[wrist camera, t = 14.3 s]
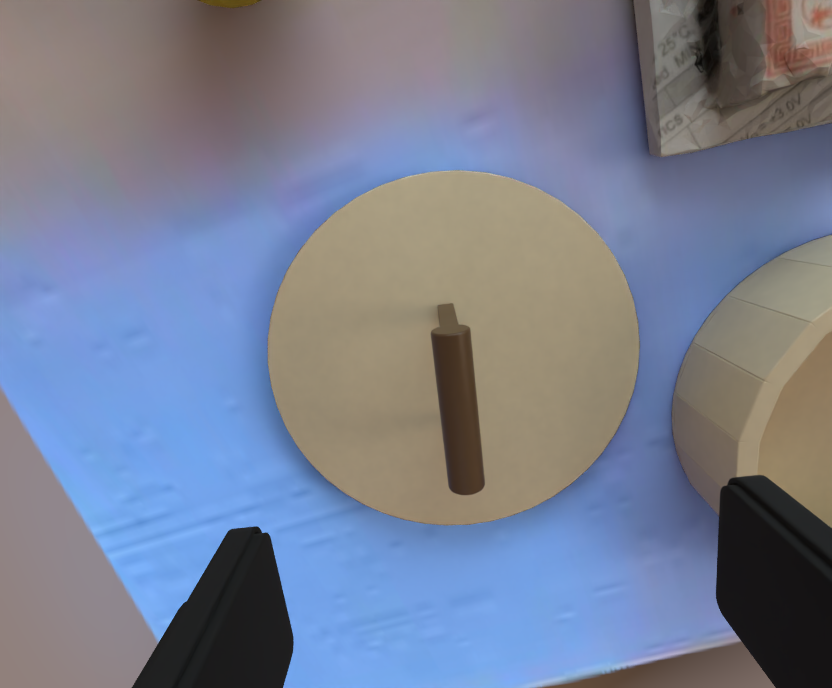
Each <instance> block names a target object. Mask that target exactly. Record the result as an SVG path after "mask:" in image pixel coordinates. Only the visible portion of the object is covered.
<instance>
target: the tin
mask: <svg viewBox="0 0 832 688" xmlns="http://www.w3.org/2000/svg"><path fill="white" fill-rule="evenodd" d="M672 430H673V437H674V442H675V447H676V452H677V454H678V457H679V460H680V462H681V465H682V468H683V470H684V472H685V473H686V475H687V477H688V480H689V482H690V484H691V485H692V486H693V487H694V489H695V490H696V491H697V492H698V493H699V494H700V495H701V496H702V498H703V499H704V500H705V501H706V502H707V503H708V504H709V506H710V507H711V508H712V509H713V510H714V511H715V512H716V513H717V515H718V516H719V507H720V491H721V488H722V487H723V486H727V484H728V481H729V479H731V478H733V477H743V476H752V475H764V476H766V477H767V478H769V479H770V480H771V481H772V482H774V483H775V484H776V485H778V486H779V487H780V488H781V489H783V490H784V491H785V492H786V493H788V494H789V495H790V496H792V497H793V498H794V499H795V500H797V501H798V502H799V503H800V504H802V505H803V506H804V507H805V508H807V509H808V510H809V511H811V512H812V513H813V514H814V515H816V516H817V517H818V518H819V519H821V520H822V521H823V522H825V523H826V524H827V525H828V526H830V527H831V528H832V235H829V236H825V237H822V238H819V239H816V240H812V241H810V242H807V243H805V244H803V245H800V246H798V247H796V248H794V249H791V250H789V251H787V252H785V253H783V254H782V255H780V256H778V257H776V258H775V259H773V260H771V261H769V262H768V263H766V264H764V265H763V266H762V267H760V268H759V269H757V270H756V271H755V272H753V273H752V274H751V275H749V276H748V277H747V278H745V279H744V280H743V281H742V282H741V283H739V284H738V285H737V286H736V287H735V288H734V289H733V290H732V291H731V292H730V293H729V294H727V295H726V296H725V297H724V299H723V300H722V301H721V302H720V303H719V304H718V306H717V307H716V308H715V309H714V310H713V311H712V312H711V314H710V315H709V316H708V318H707V319H706V321H705V322H704V323H703V325H702V326H701V328H700V329H699V331H698V332H697V334H696V335H695V337H694V339H693V341H692V343H691V345H690V347H689V349H688V351H687V353H686V355H685V357H684V360H683V363H682V365H681V368H680V371H679V373H678V377H677V381H676V386H675V390H674V394H673V405H672Z"/></svg>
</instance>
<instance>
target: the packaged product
mask: <svg viewBox="0 0 832 688" xmlns="http://www.w3.org/2000/svg"><path fill="white" fill-rule="evenodd" d="M634 9H635V19H636V28H637V38H638V47H639V57H640V66H641V76H642V85H643V95H644V105H645V114H646V124H647V133H648V143H649V152H650V155H654V156H658V157H666V156H673V155H680V154H687V153H693V152H697V151H701V150H705V149H709V148H713V147H717V146H721V145H725V144H729V143H733V142H737V141H741V140H745V139H749V138H753V137H760V136H766V135H773V134H779V133H786V132H791V131H795V130H800V129H805V128H809V127H814V126H819V125H823V124H828V123H832V0H634Z"/></svg>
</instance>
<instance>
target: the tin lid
mask: <svg viewBox="0 0 832 688" xmlns="http://www.w3.org/2000/svg"><path fill="white" fill-rule="evenodd" d="M639 349H640V341H639V327H638V319H637V314H636V309H635V305H634V300H633V297H632V294H631V291H630V288H629V286H628V283H627V280H626V278H625V275H624V273H623V271H622V270H621V268H620V266H619V264H618V262H617V260H616V259H615V257H614V255H613V253H612V252H611V250H610V249H609V248H608V246H607V245H606V244H605V242H604V241H603V240H602V238H601V237H600V236H599V234H598V233H597V232H596V231H595V230H594V229H593V228H592V227H591V226H590V225H589V224H588V223H587V222H586V221H585V220H584V219H583V218H582V217H581V216H580V215H578V214H577V213H576V212H574V211H573V210H572V209H570V208H569V207H568V206H566V205H565V204H564V203H562V202H561V201H560V200H558V199H556V198H554V197H553V196H551V195H549V194H547V193H545V192H543V191H542V190H540V189H538V188H536V187H533V186H531V185H528V184H525V183H523V182H520V181H517V180H515V179H512V178H508V177H504V176H499V175H495V174H490V173H486V172H474V171H462V170H453V171H436V172H428V173H423V174H418V175H413V176H408V177H404V178H401V179H398V180H395V181H392V182H389V183H386V184H383V185H380V186H378V187H376V188H374V189H372V190H370V191H368V192H366V193H364V194H363V195H361V196H359V197H357V198H355V199H354V200H352V201H351V202H349V203H348V204H346V205H345V206H344V207H342V208H341V209H339V210H338V211H336V212H335V213H334V214H333V215H332V216H331V217H329V218H328V219H327V220H326V221H325V222H324V223H323V224H322V225H321V226H320V227H319V228H318V229H316V230H315V232H314V233H313V234H312V235H311V237H310V238H309V239H308V240H307V241H306V243H305V244H304V245H303V246H302V248H301V249H300V250H299V252H298V253H297V255H296V257H295V258H294V260H293V262H292V263H291V265H290V267H289V268H288V270H287V272H286V274H285V276H284V279H283V281H282V283H281V286H280V288H279V290H278V292H277V296H276V299H275V303H274V306H273V310H272V314H271V318H270V326H269V333H268V367H269V374H270V381H271V387H272V390H273V394H274V397H275V401H276V404H277V408H278V410H279V412H280V415H281V417H282V419H283V422H284V424H285V426H286V428H287V430H288V432H289V433H290V435H291V437H292V438H293V440H294V442H295V443H296V445H297V447H298V448H299V449H300V451H301V452H302V453H303V454H304V456H305V457H306V458H307V459H308V461H309V462H310V463H311V464H312V465H313V466H314V467H315V468H316V469H317V470H318V471H319V472H320V473H321V474H322V475H323V476H324V477H325V478H326V479H327V480H328V481H329V482H331V483H332V484H333V485H335V486H336V487H337V488H338V489H340V490H341V491H342V492H344V493H345V494H347V495H348V496H350V497H352V498H353V499H355V500H357V501H359V502H360V503H362V504H364V505H366V506H368V507H371V508H373V509H375V510H377V511H379V512H382V513H384V514H388V515H391V516H394V517H397V518H400V519H403V520H409V521H414V522H419V523H424V524H436V525H470V524H476V523H483V522H490V521H494V520H498V519H501V518H505V517H509V516H512V515H515V514H518V513H520V512H523V511H525V510H528V509H530V508H533V507H535V506H537V505H538V504H540V503H542V502H544V501H546V500H548V499H550V498H552V497H553V496H555V495H556V494H558V493H559V492H560V491H562V490H563V489H565V488H566V487H568V486H569V485H570V484H572V483H573V482H574V481H575V480H576V479H577V478H578V477H580V476H581V475H582V474H583V473H584V472H585V471H586V470H587V469H588V468H589V467H590V466H591V465H592V464H593V463H594V462H595V460H596V459H597V458H598V457H599V456H600V455H601V454H602V452H603V451H604V450H605V448H606V447H607V445H608V444H609V442H610V441H611V439H612V438H613V436H614V435H615V433H616V431H617V429H618V428H619V426H620V424H621V422H622V420H623V418H624V416H625V414H626V411H627V408H628V405H629V403H630V400H631V397H632V394H633V391H634V386H635V382H636V377H637V372H638V364H639Z"/></svg>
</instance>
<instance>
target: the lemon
mask: <svg viewBox="0 0 832 688" xmlns="http://www.w3.org/2000/svg"><path fill="white" fill-rule="evenodd" d="M199 1H201V2H203V3H206V4H208V5H212V6H220V7H228V8H237V7H243V6H249V5H253V4H255V3H257V2H259V1H261V0H199Z"/></svg>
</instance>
